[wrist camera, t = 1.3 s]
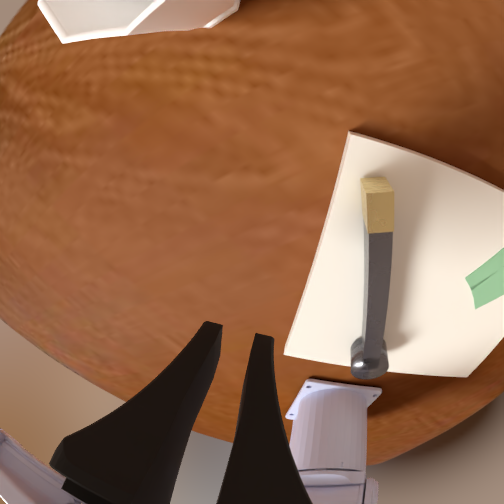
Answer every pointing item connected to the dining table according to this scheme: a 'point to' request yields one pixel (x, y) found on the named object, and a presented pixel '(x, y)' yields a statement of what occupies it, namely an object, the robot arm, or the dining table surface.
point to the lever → (375, 278)
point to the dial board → (409, 266)
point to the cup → (131, 16)
